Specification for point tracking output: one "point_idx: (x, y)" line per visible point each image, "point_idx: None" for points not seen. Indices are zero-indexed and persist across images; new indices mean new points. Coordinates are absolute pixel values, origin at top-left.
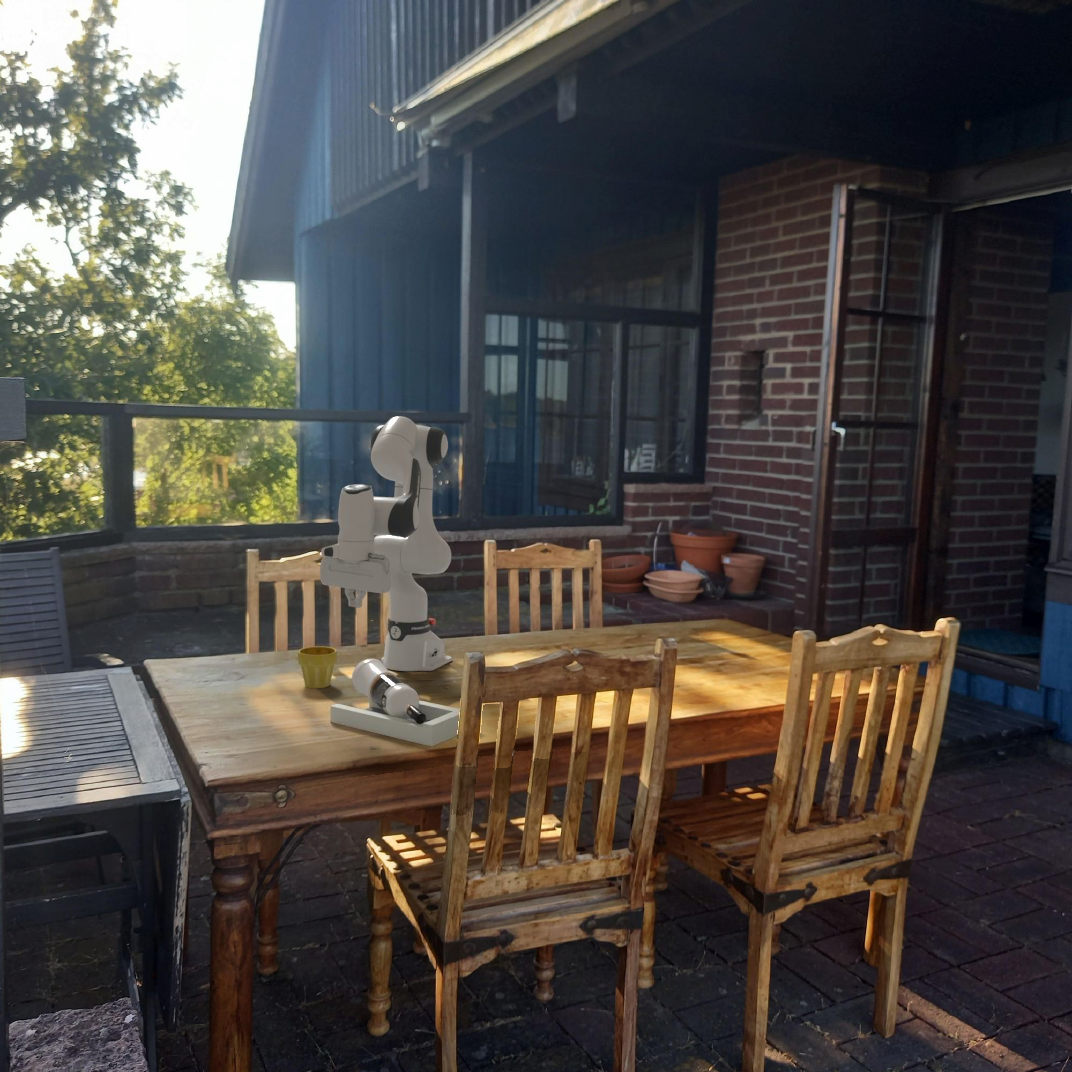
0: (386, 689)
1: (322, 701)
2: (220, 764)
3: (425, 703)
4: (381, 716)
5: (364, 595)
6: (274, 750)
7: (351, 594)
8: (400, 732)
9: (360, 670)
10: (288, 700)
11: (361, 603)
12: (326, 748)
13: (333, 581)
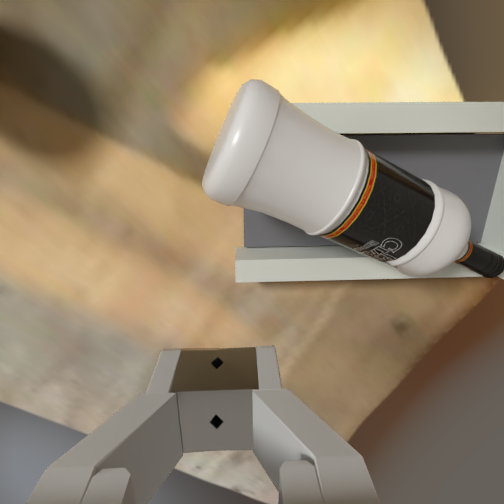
0: (393, 259)
1: (101, 162)
2: (252, 481)
3: (419, 118)
4: (379, 272)
5: (338, 447)
6: None
7: (133, 467)
8: None
9: (243, 202)
10: (37, 208)
11: (278, 371)
12: (331, 369)
13: None
